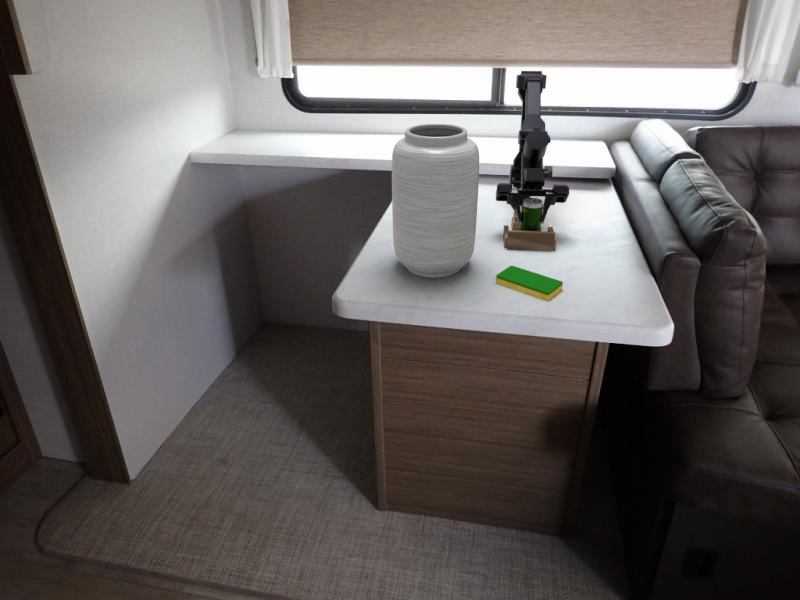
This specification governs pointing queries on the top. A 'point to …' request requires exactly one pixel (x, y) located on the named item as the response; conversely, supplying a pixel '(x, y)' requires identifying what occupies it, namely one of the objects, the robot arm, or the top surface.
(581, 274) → the top surface
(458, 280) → the top surface
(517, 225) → the offcut stack
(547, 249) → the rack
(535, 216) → the beer can
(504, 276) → the dish sponge
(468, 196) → the vase
